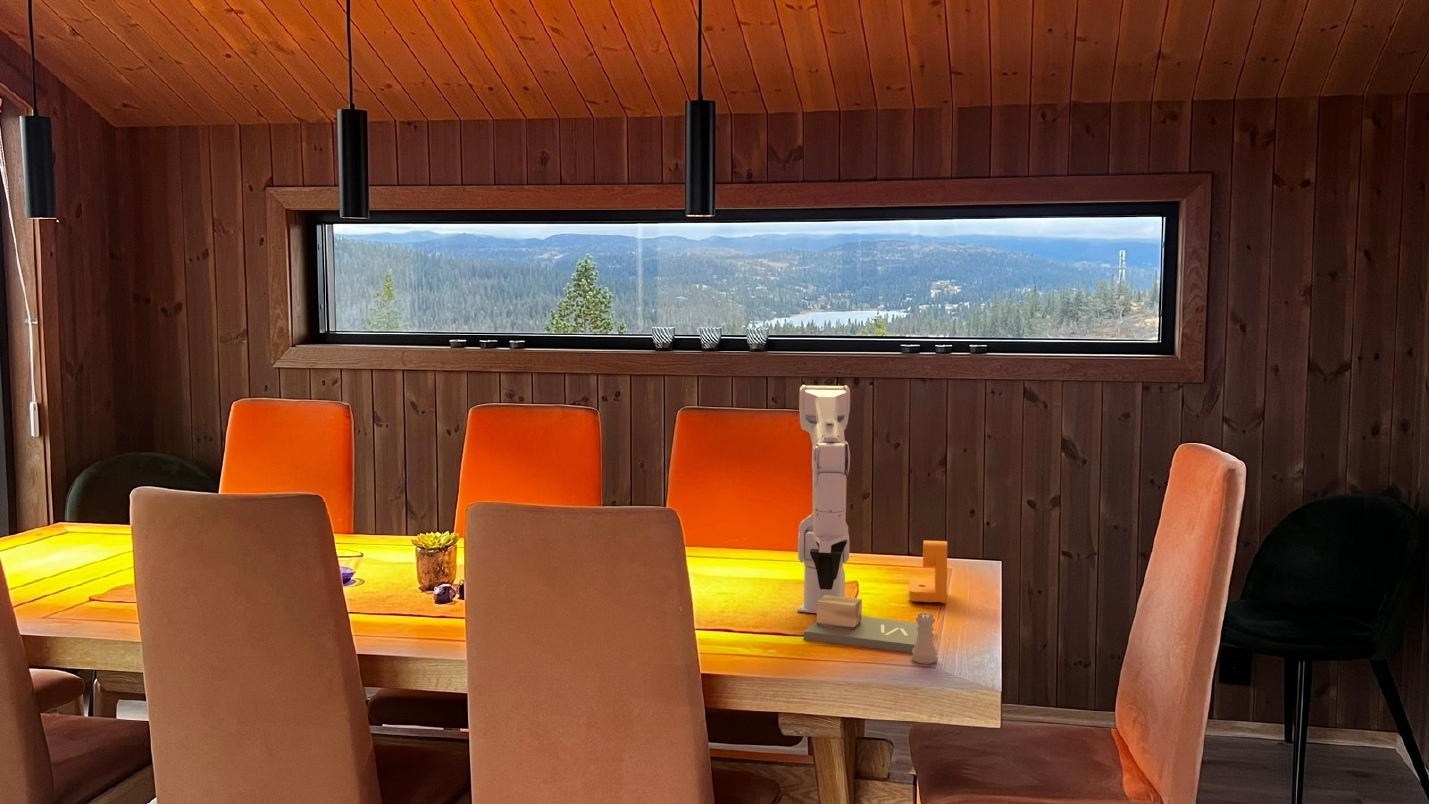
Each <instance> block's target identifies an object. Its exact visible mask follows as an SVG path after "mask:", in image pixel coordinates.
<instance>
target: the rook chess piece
mask: <svg viewBox="0 0 1429 804" xmlns="http://www.w3.org/2000/svg"><path fill="white" fill-rule="evenodd" d="M915 621H916V623H918V627H917V630H918V636H917V642H916V645H915V647H914V648H913V649H912V653H911V654H912V655H911V656H910V658H911V660H912V661H913V662H914V663H917V664H919V665H920V664H921V665H932V664H935V663H936V662H937V661H938V659H939V658H938V657H937V655H938V651H937V649H936V646H935V644H934V640H933V631H934V626H933V624H934V623H935V622H936V619H935V618H934V614H933V613H932V612H929V613H928V612H925V611H924V613H923V612H919V613H917V617H916V618H915Z"/></svg>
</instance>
